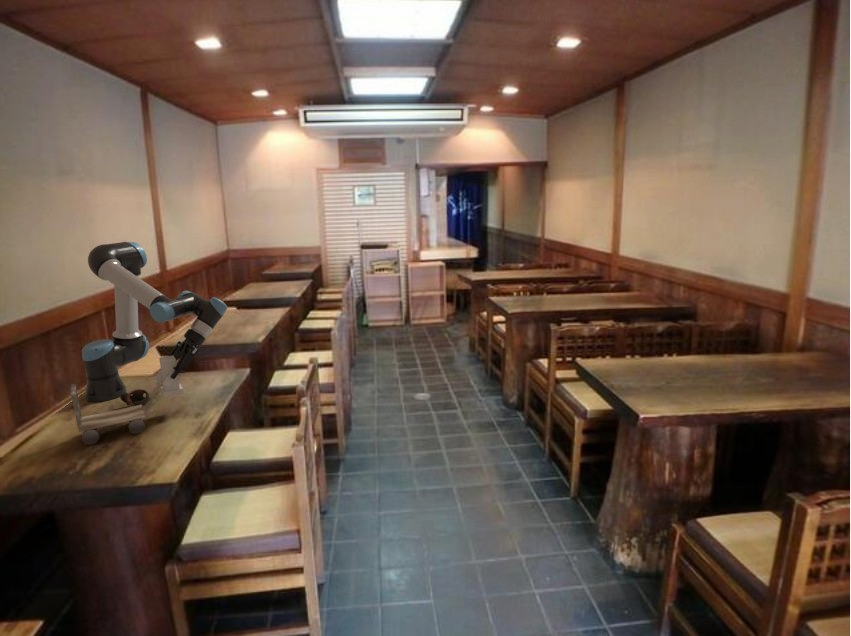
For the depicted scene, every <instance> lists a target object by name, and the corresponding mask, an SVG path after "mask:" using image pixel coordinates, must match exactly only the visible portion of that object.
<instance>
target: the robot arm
mask: <svg viewBox="0 0 851 636" xmlns="http://www.w3.org/2000/svg"><path fill="white" fill-rule="evenodd" d="M147 256H148V255H147V253H146V252H145V249H144V248H143V247H142V245H140V244H139V243H137V242H134V241H121V242H114V243H107V244H106V243H105V244H100V245H99V244H98V245H96V246H95V247H93V248H92V250H90V252H89V253H88V256H87V265H88V267H89V269H90V270H91V272H92V273H93V274H94V275H95V276H96V277H98V278H99V279H100V280H102V281H108V282H110V283H111V284H112V285H114V287H113V288H114V289H113V290H114V306H115V307H114V309H115V310H114V311H115V331H113V332H112V335H111V336H112V339H110V338H103V339H98V340H94V341H92V342H91V341H90V342H88V343H87V344H85V345H84V346H83V347H82V349H81V353H82V354H81V355H82V356H81V358H82V361H83V365H84V366H83V367H84V371H85V376H86V381H87V382H86V387H85V392H84V397H85V400H86V401H87V402H91V403H92V402H93V403H98V402H104V401H105V402H106V401H110V400H114V399H117V398H120V396H121V394H123V393H127V387H126V385H125V383H124V382H123V379H122V378H121V377H120V374H119V369H118V368H119V367H122V366H125V365H128V364H131V363H134V362H138V361H139V360H141V359H143V358H145V357H146V356H147V354H148V352H149V349H150V347H149V346H150V343H149V340H148V339H147V337H146V336H145V334H143V331H142V330H141V329H139V306H138V303H140V304H142V305H143V306H144V307H146V308H147V309H148V310H149V313H150V316H151V317H152V319H153V320H154V321H155V322H157V323H163V322H169V321H171V320H175V319H178V318H180V317H185V316H188V315H194V316H196V318H195V319H194V320H193V322H192V323H191V324H190V326H189V328H188V329H187V330H186V331H185V333H184V334H183V337H184V338H185V339H184V340H183V341H182V342H181V341H179V340H178V342H177V343H176V344H175V346H174V347H173V349H172V350H171V351H170V352H169V353H168V355H167V356H173V355H174V357H175V359H176V364H177V365H176V367H173V369H172V371H171V372H170V373H169V375H168V376H167V378H166V379H165V380H164V382H163V379H162V373H161V369H160V370H159V371H158V373H157V374H156V375H155V377H154V378H153V379H154V380H155V381H157V382H159V384H160V383H161V382H162V385H163V384H164V385H166V386H167V387H169V386H170V385H171V384H172V382H173V381H174V380H175V378H176V377H177V375H178V376H179V375H180V373H185V372H186V370H187V369H188V367H189V365H190V364H191V362H192V360H193V359H194V358H195V356H196V355H197V353H198V352H199V349H198V348H197V346H198V347H201V346H202V345H203V344H204V343H205V341H206V338H208V337H209V335H210V334H212V331H213V330H214V328H215V327H216V326H217V324H218V323H219V322H220V321H221V319H222V318H223V317H224V314H226V311H227V310H228V305H227V304H226V303H225V302H224V301H222V300H221V299H219V298H217V297H214V296H213V297H211V298H210V299H207V298H204V297H202V296H200V295H198V294H197V293H195V292H192V291H190V290H184V291H181V292H180V293H179V294H178V296H177V297H175V298H171V299H170V298H169V297H168V296H166V295H164V294H163V293H161V292H160V291H158V290H157V288H156V289H155V288H154V287H153V286H151V285H150V284H148V283H147V282H146V281H144V280H143V279H141V278H140V276H141V275H142V269H143V268H144V267H145V266H147V263H148V257H147ZM174 369H175V370H174Z"/></svg>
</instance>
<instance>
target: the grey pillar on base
mask: <svg viewBox="0 0 851 636" xmlns="http://www.w3.org/2000/svg"><path fill="white" fill-rule="evenodd" d="M176 365H177V361H176V359H175V357H174V355H173V356H168V355H167V356H163V357H159V366H160V370H161V373H162V379H163V380H162V383H163V382H164V380H165V379H166V378H167V376H168V375H169V373H170V372H171V371H172V369H173V367H176ZM174 370H175V369H174ZM162 385H163V386H160V391H161V394H162V397H163V398H169V397H173V396H178V395H182V394H183V395H184V393H185V392H184V388H183V386H182V384H181V383H180V381H179V374H178V375H177V377H176V378H175V380H174V381H173V382H172V384H171V385H170V386H169V387H167V386H166V385H164V384H162Z"/></svg>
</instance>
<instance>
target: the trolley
mask: <svg viewBox="0 0 851 636" xmlns="http://www.w3.org/2000/svg"><path fill="white" fill-rule="evenodd" d="M69 392H70V396H71V401H72V406H73V411H74V415H75V420H76V426H77V428H78V432H79V433H81V432H82V435H81V440H82V443H84V444H85V445H88V446H90V445H94V444H96V443H97V442H98V441H99V439H100V434H99V431H98V429H99V428H103V427H108V426H113V425H118V424H121V423H126V422H128V430H129V433H131V434H135V435H137V434H140V433H142V432H143V431H144V430H145V427H146V425H145V422H144V420H142V419H144V418H145V417H146V415H145V412H144V407H143V406H142V404H141V405H137V406H132V407H130V406H128V407H124V408H119V409H118V408H117V409H114V410H109V411H105V412H101V413H96V414H90V415H87V416H86V415H85V416H82V411H81V405H80V402H79V397H78V392H77V384H75V383H72V384H71V385H70V391H69Z"/></svg>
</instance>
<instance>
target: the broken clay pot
mask: <svg viewBox="0 0 851 636" xmlns="http://www.w3.org/2000/svg"><path fill="white" fill-rule="evenodd" d="M144 394H145V396H144ZM150 396H151V394H150V393H148V391H147V390H145V389H140V388H139V389H138V388H137V389H133V390H131V391H130V392H129V393H128V392H126V393H123V394H121V396H120V397H119V398H120V400H121V401H122V402H124V403H125V404H126V405H127V406H129V407H132V406H137V405H141V404H142V407H145V406H146V405H147V404H148V403H149V401H152V399H151V397H150Z"/></svg>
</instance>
